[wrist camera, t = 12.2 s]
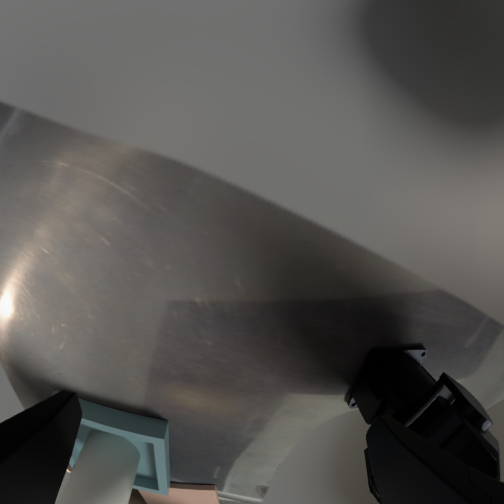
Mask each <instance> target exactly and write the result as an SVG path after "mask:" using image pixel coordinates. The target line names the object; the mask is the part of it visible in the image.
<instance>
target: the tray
mask: <svg viewBox="0 0 504 504" xmlns="http://www.w3.org/2000/svg"><path fill="white" fill-rule="evenodd" d="M57 392H59V391H57V390H54V392H53V393H52V395H54V394H55V393H57ZM52 395H51V396H52ZM78 399H79V398H78ZM79 402H80V405H81V409H82V420H81V423H80V427H79V430H78V434H77V438H76V441H75V445H74V449H73V453H72V456H71V459H70V462H69V463H70V465H71V467H72V468H73V466H74V464H75V462H76V459H77V457H78V455H79V453H80V451H81V448H82V446H83V444H84V442H85V440H86V438H87V436H88V434H89V433H90V432H91V431H93V430H101V431H105V432H108V433H112V434H115V435H119V436H121V437H123V438H125V439H126V440H128V441H129V442H131V443H132V444H133V445H134V446H135V447H136V448H137V449H138V451H139V453H140V461H139V465H138V469H137V472H136V476H135V480H134V484H133V488H134V489H138V490H142V491H147V492H151V493H156V494H161V495H167V496H168V494H169V487H170V481H171V480H170V462H169V433H168V421H166V420H160V419H155V418H150V417H146V416H141V415H137V414H133V413H128V412H124V411H120V410H117V409H113V408H109V407H106V406H102V405H99V404H95V403H92V402H89V401H86V400H83V399H79Z"/></svg>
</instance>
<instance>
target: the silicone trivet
mask: <svg viewBox="0 0 504 504" xmlns="http://www.w3.org/2000/svg"><path fill="white" fill-rule="evenodd" d="M139 492H140V494H141V495H142V497H143V498H144V500H145V501H146V503H147V504H220V503H219V499H218V494H217V490H216V486H215V485H191V484H177V483H170V487H169V494H168V496H167V495H161V494H156V493H151V492H147V491H142V490H139Z"/></svg>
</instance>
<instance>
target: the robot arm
mask: <svg viewBox="0 0 504 504" xmlns="http://www.w3.org/2000/svg"><path fill="white" fill-rule="evenodd" d="M375 353H376V354H375ZM427 353H428V351H427V350H426V349H425V348H373V349H371V350H370V351H369V353H368V356H367V358H366V361H365V363H364V366H363V368H362V371H361V372H360V374H359V376H358V379H357V381H356V383H355V386H354V388H353V390H352V392H351V396H350V398H349V400H348V403H347V404H348V406H349V408H359V410H360V412H361V414H362V416H363V418H364V420H365V422H366V423H367V424H368V425H369V424H371V426H370V428H369V429H368V431H367V434H366V442H367V446H368V447H367V448H366V449H365V450H364V453H365V460H366V468H367V476H368V484H369V488H370V492H371V493H372V494H373V495H374V497H375V498H376V500H377V501H378V502H379V503H380V504H504V482H503V481H502V479H501V461H500V448H499V442H498V440H497V439H496V438H495V437H494V436H493V434H491V432H490V431H489V430H488V429H489V428H490V427H491V426H492V425H493V422H492V420H491V418H490V417H489V415H488V414H487V413H486V411H485V410H484V408H483V407H482V405H481V404H480V402H479V401H478V400H477V399H476V398H475V397H474V396H473V395H472V394H471V393H470V392H469V391H468V390H467V389H466V388H465V387H463V386H462V385H461V384H459V383H458V382H457V381H455V380H454V379H453V378H451V377H450V376H449V375H447V374H446V373H444V372H443V374H442V375H441V376H440V377H439V378H440V379H439V380H438V381H437V382H436V380H435V379H434V378H433V377H432V376H431V375H430V374H429V373H428V372H427V371H426V369H425V368H424V367H423V366H422V365H423V362H424V360H425V358H426V356H427ZM373 354H375V355H373ZM352 403H353V404H352ZM81 420H82V409H81V405H80V402H79V399H78V395H77V394H76V393H75V392H73V391H70V390H67V389H63V390H61V391H59V392H57V393H55V394H54V395H52V396H50V397H48V398H46V399H44V400H43V401H41V402H39V403H37V404H35V405H33V406H32V407H30V408H28V409H26V410H24V411H22V412H21V413H18V414H17V415H15V416H13V417H11V418H9V419H7V420H5V421H3V422H1V423H0V504H55V501H56V498H57V495H58V492H59V489H60V486H61V483H62V481H63V478H64V475H65V473H66V470H67V467H68V465H69V462H70V459H71V456H72V453H73V449H74V445H75V441H76V438H77V434H78V430H79V427H80V423H81Z"/></svg>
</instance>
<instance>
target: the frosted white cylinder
mask: <svg viewBox="0 0 504 504" xmlns="http://www.w3.org/2000/svg"><path fill="white" fill-rule="evenodd" d="M139 461H140V453H139V451H138V449H137V448H136V447H135V446H134V445H133V444H132V443H131V442H129V441H128V440H126V439H125V438H123V437H121V436H119V435H115V434H112V433H108V432H105V431H101V430H93V431H91V432H90V433H89V434H88V436H87V438H86V440H85V442H84V444H83V446H82V448H81V451H80V453H79V455H78V457H77V459H76V462H75V464H74V466H73V468H72V470H71V473H70V475H69V477H68V480H67V482H66V484H65V487H64V489H63V492H62V494H61V496H60V499H59V501H58V504H128V503H129V499H130V495H131V491H132V488H133V484H134V480H135V476H136V472H137V469H138V465H139Z"/></svg>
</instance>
